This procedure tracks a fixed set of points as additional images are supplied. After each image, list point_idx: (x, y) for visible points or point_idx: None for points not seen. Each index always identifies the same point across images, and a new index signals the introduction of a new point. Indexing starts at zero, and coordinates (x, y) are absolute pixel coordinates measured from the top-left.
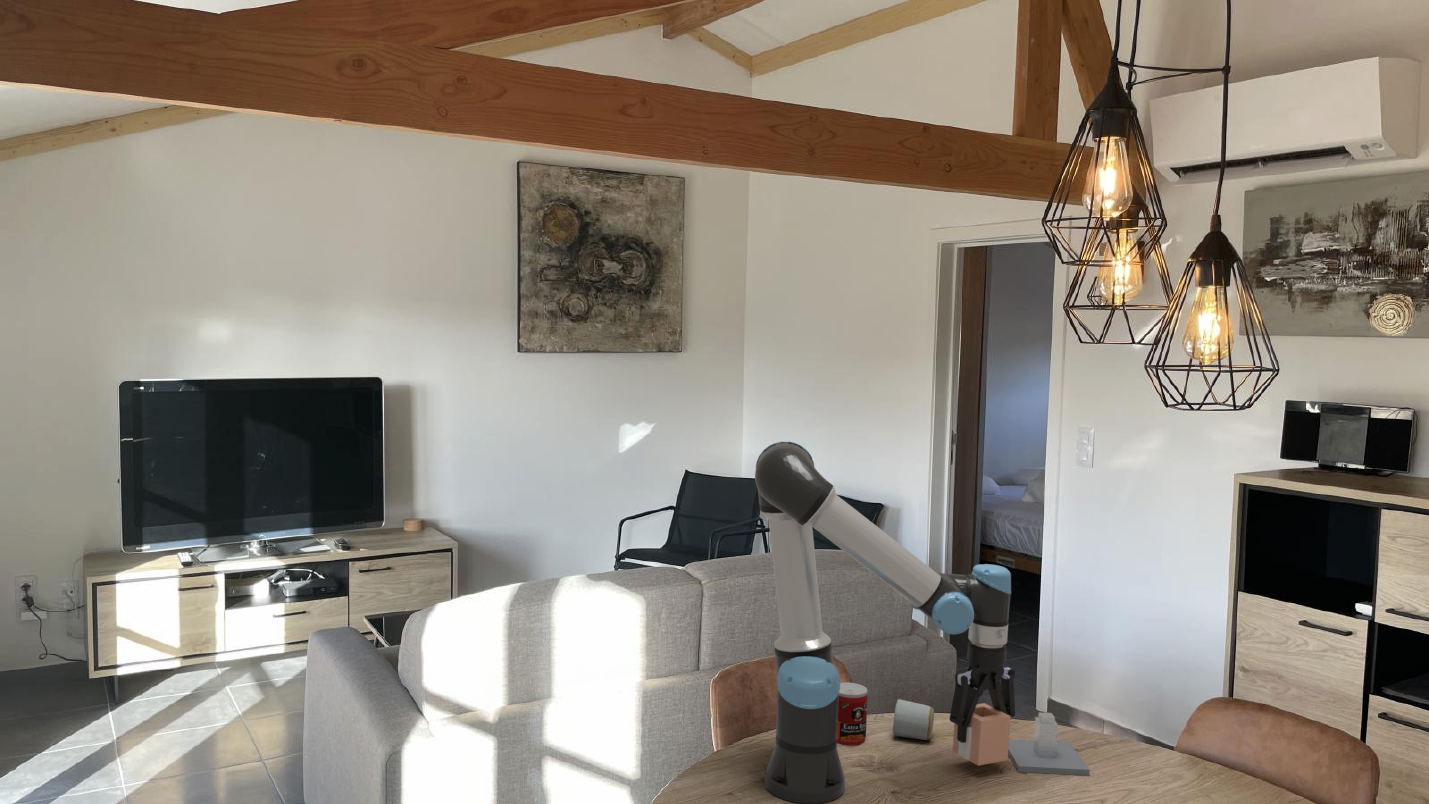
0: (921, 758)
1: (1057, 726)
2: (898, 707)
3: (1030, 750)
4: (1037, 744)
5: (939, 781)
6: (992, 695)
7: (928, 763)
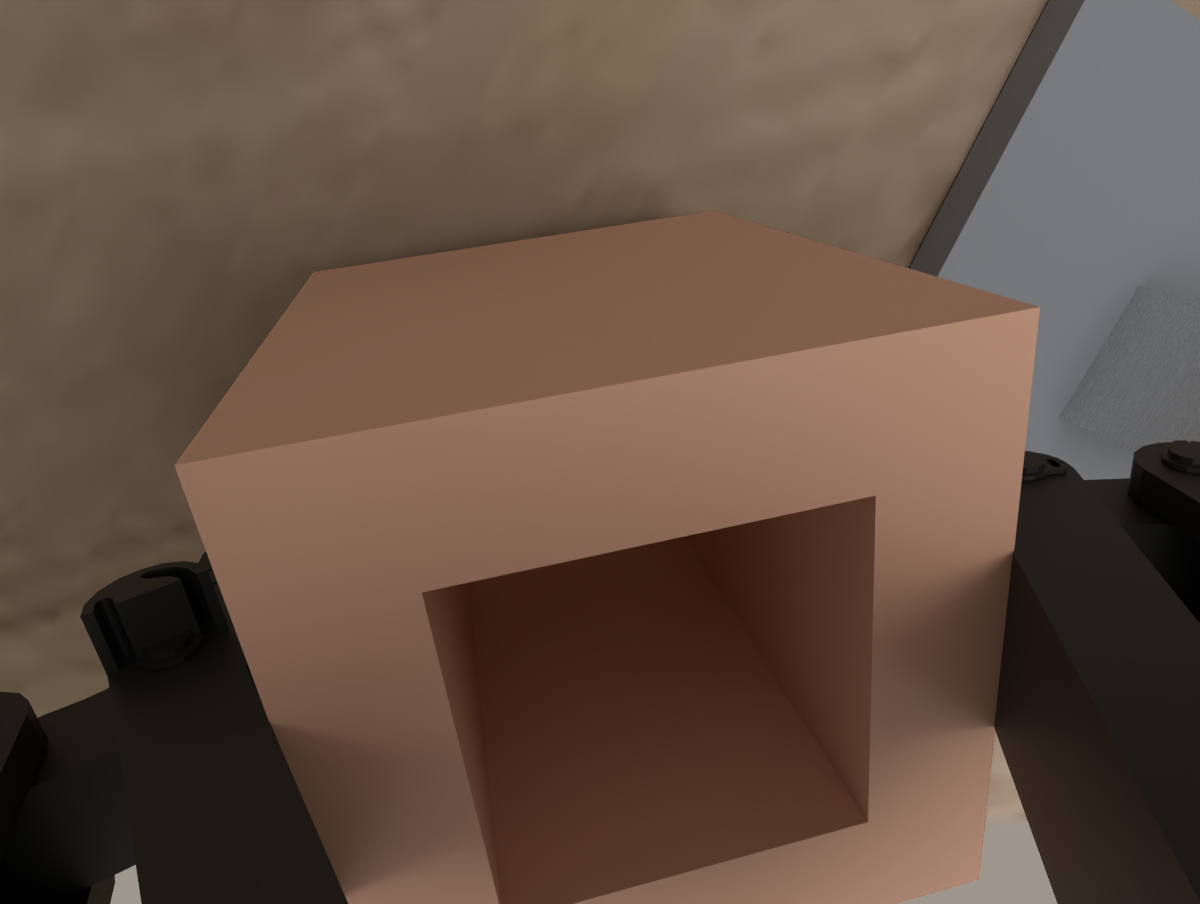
0: (38, 26)
1: None
2: None
3: (1108, 289)
4: (1151, 411)
5: (43, 554)
6: (1123, 880)
7: (76, 176)
